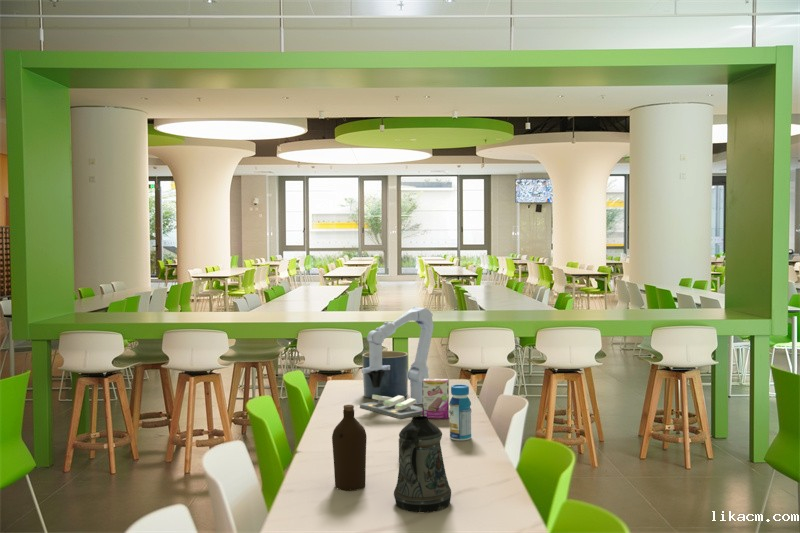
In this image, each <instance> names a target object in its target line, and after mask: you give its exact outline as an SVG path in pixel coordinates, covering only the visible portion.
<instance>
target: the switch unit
mask: <svg viewBox="0 0 800 533" xmlns="http://www.w3.org/2000/svg"><path fill="white" fill-rule="evenodd" d="M383 402H384V401H383V400H376V401H370V402H365V403H359V408H362V409H365V410H369V411H372V412H376V413H379V414H381V415H385V416H386V415H387V416H391V417H394V418H398V419H400V420H401V419H407V418H410V417H411V418H413V417H415V416H423V406H419V405H418V406H417V405H415V404H413V405H411V406H409V407H407V408H405V409H403V410H398V409H395V405H396V404H395V405H393V406H391V407H386V406H384V404H383ZM401 402H402V401H401ZM401 402H399V403H401ZM397 404H398V403H397Z"/></svg>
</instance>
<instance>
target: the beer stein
mask: <svg viewBox="0 0 800 533" xmlns="http://www.w3.org/2000/svg"><path fill="white" fill-rule="evenodd" d="M399 437H400V440H401V442H402V445H401V448H400V451H399V450H398V462H399V464H398V473H397V474H398V475H397V482H396V485H395V488H394V491H393V498H394V499H395V505H396V507H397V508H399V509H400V510H402V511H407V512H411V513H418V512H424V513H434V512H433V511H435V512H440V511H442V510H445V509H446V508H448V507H449V506H450V504H451V498H452V489H451V486H450V485H449V481H448V478H447V474H446V469H445V464H444V463H445V462H444V458H443V453H442V446H441V440H442V439H443V438H442V437H443V432H442V430H441V429H440V428H439V427H438V426H436V425H435V424H434V423H433V422H432V421H430V419H428V418H427V417H426V416H423V415H417V416H412V417H411V420H410V421H409V423H407V424H406V425H405V426H404V427H403V428H401V430H400V431H399V433H398V438H399Z"/></svg>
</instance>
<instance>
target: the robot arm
mask: <svg viewBox="0 0 800 533" xmlns="http://www.w3.org/2000/svg"><path fill="white" fill-rule="evenodd" d="M410 321H411V322H412V321H414V322H416V323H417V324H418V326H419V327H420V329H421V330H420V334H419V338H418V343H417V349H416V353H415V358H414V361H413V363H412V364H411V365H410V369H408V381H409V382H410V385H409V386H410V398H412V399H416V401H417V403H416V404H415V406H417V405H418V406H419V405H423V392H422V390H423V389H422V381H423V379H430V378H429V366H428V365H427V361H428V356H429V352H430V346H431V343H432V342H431V341H432V338H433V332H434V328H435V327H434V326H435V325H434V322H433V312H432V311H431V310H430V309H429V308H427V307H419V306H414V307H413V308H411V309H410V308H409V309H408V310H407V311H406V312H404V313H403V314H401V316H399V317H397V319H395V320H393V321H392V322H391V321H384V322H383V324H382V325H380V326H378V327H376V328H375V329H374V330H370V331H369V332H368V333H367V336H366V340H367V342H368V352H369V359H370V366H369V367H367V368H363V367H362V368H361V373H362V374H363V373H368V375H369V377H370V379H371V382H372V385H373V388H377V387H378V388H379V387H380V384H381V380H382V377H383V375H384V374H385V372H384V371H383V370H390V365H383V366H382V351H383V343H384V340H385V339H387V338H389V337H390V336H391V335H393V334H395V333H396V332H397V331H396V330H397V329H398V328H400V327H401V326H403V325H405V324H407V323H409V322H410Z"/></svg>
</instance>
